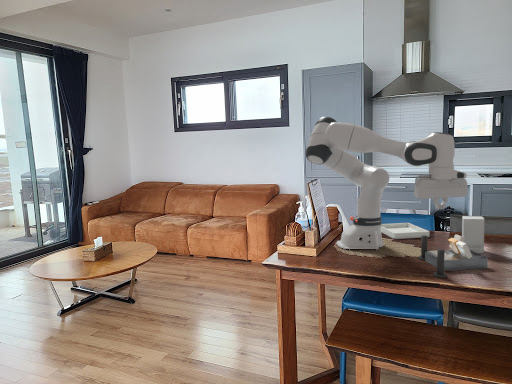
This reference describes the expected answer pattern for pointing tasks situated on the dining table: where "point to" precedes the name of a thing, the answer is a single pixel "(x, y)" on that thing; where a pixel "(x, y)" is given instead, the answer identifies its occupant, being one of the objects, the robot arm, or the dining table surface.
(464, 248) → the paddle
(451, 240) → the paddle amber
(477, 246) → the skincare box
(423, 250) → the cord posts
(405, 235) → the tray
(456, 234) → the paddle
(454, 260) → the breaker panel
